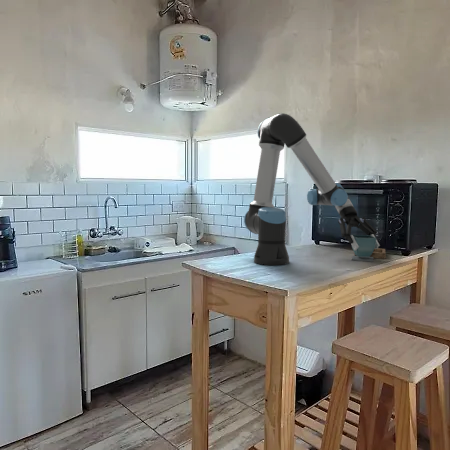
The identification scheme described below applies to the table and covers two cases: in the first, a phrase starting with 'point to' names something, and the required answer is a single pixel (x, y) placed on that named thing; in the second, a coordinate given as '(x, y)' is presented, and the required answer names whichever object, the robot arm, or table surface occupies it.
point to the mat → (362, 258)
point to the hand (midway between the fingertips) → (367, 247)
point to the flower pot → (364, 245)
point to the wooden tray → (378, 253)
